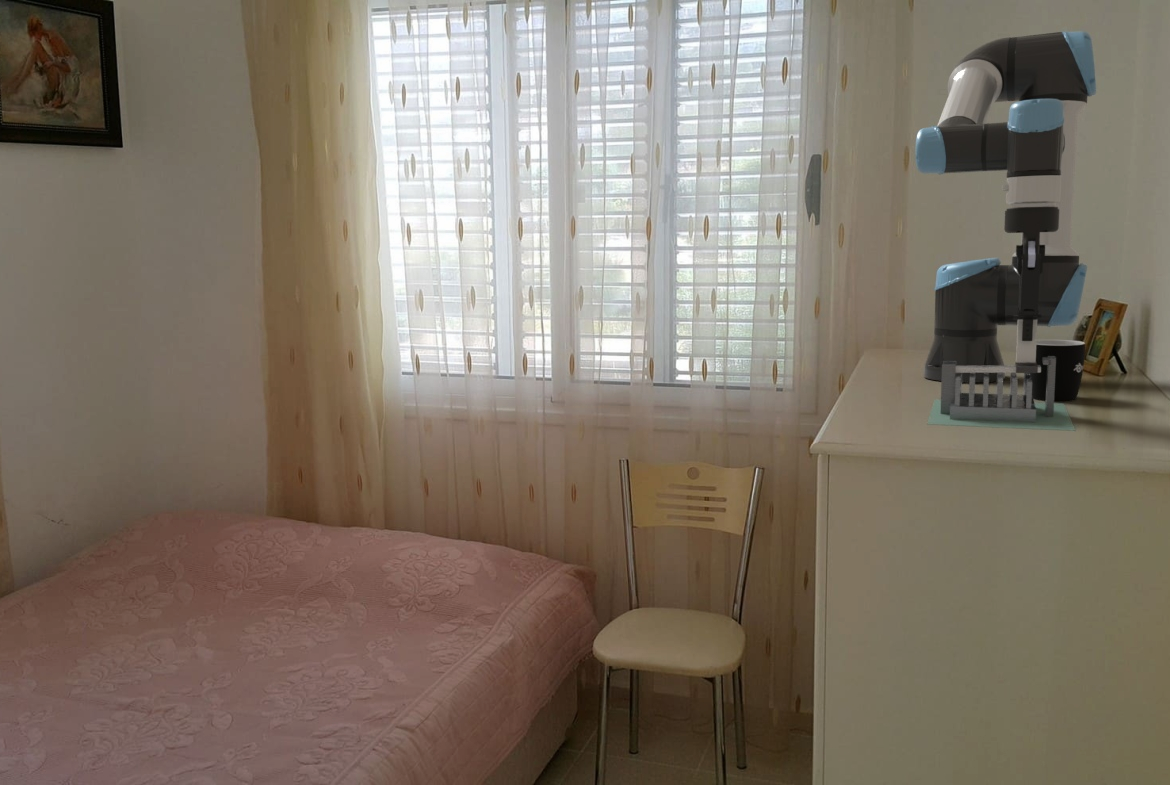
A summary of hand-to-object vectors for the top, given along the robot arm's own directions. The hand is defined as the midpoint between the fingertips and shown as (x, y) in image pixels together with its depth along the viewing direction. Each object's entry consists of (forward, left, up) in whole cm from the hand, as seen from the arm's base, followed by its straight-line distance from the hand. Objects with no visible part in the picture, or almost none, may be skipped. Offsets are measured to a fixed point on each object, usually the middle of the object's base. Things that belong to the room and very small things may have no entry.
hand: (1025, 361), depth 156 cm
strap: (0, -5, -2) cm, 5 cm away
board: (0, -4, -9) cm, 10 cm away
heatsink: (0, -5, -8) cm, 9 cm away
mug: (-19, +5, -9) cm, 22 cm away
